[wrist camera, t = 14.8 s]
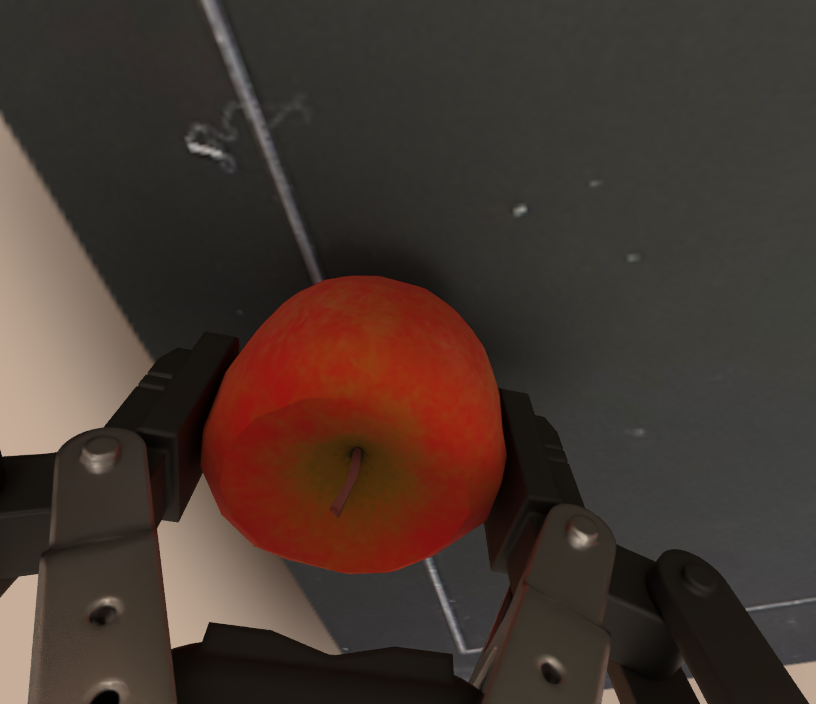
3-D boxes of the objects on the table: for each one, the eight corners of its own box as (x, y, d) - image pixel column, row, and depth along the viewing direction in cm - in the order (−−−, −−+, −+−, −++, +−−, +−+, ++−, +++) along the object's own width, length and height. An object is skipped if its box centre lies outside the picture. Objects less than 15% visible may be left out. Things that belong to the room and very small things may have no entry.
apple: (464, 206, 14) (510, 349, 7) (485, 389, 17) (529, 599, 11) (243, 243, 14) (109, 405, 8) (303, 413, 18) (241, 626, 11)
